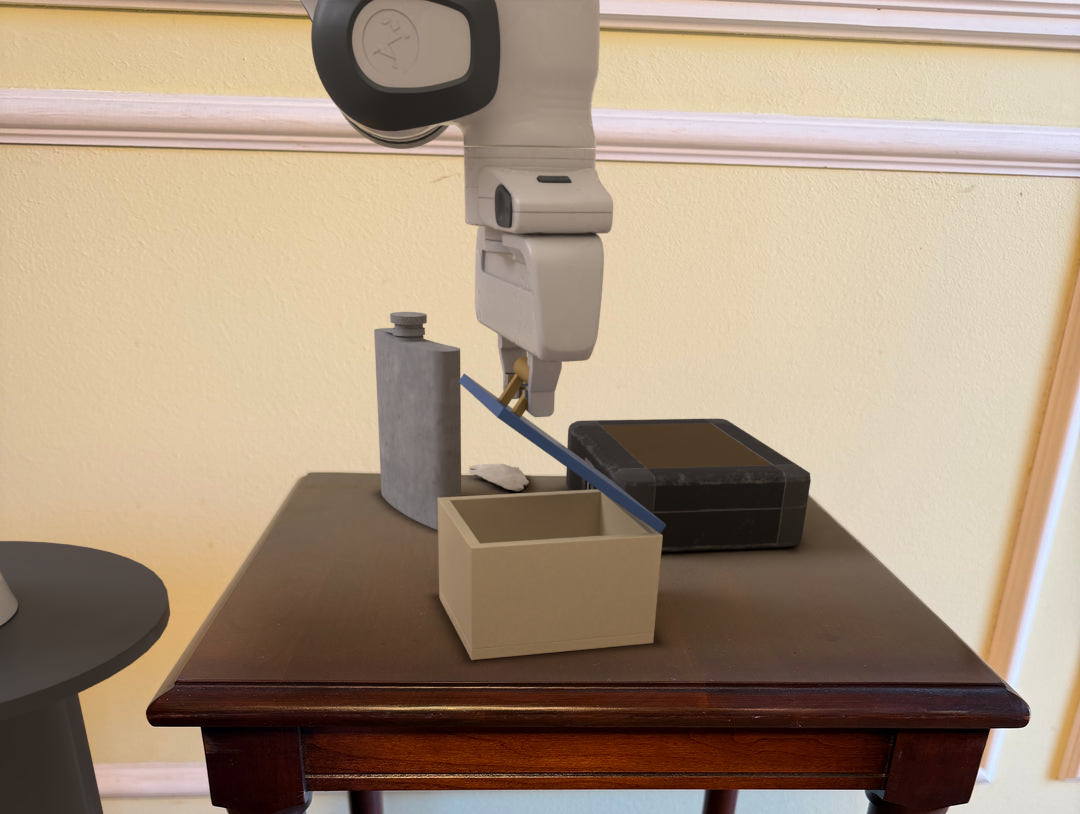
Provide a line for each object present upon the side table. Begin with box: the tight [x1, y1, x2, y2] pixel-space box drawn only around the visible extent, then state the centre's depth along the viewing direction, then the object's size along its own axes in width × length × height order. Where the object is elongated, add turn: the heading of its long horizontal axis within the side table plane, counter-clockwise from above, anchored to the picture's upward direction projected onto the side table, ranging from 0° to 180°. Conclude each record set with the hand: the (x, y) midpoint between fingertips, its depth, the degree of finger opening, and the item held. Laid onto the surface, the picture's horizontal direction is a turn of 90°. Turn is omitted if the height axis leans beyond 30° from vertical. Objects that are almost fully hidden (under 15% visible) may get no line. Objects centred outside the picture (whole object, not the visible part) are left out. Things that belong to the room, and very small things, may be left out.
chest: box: [437, 489, 663, 661], centre depth 83 cm, size 15×13×9 cm
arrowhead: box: [467, 463, 530, 493], centre depth 121 cm, size 7×2×10 cm
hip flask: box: [373, 311, 462, 531], centre depth 106 cm, size 16×4×20 cm, turn 31°
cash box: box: [565, 418, 812, 554], centre depth 109 cm, size 25×20×8 cm
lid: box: [459, 357, 666, 533], centre depth 78 cm, size 16×13×5 cm
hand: (527, 406), depth 76 cm, fingers closed on lid, 5 cm apart
